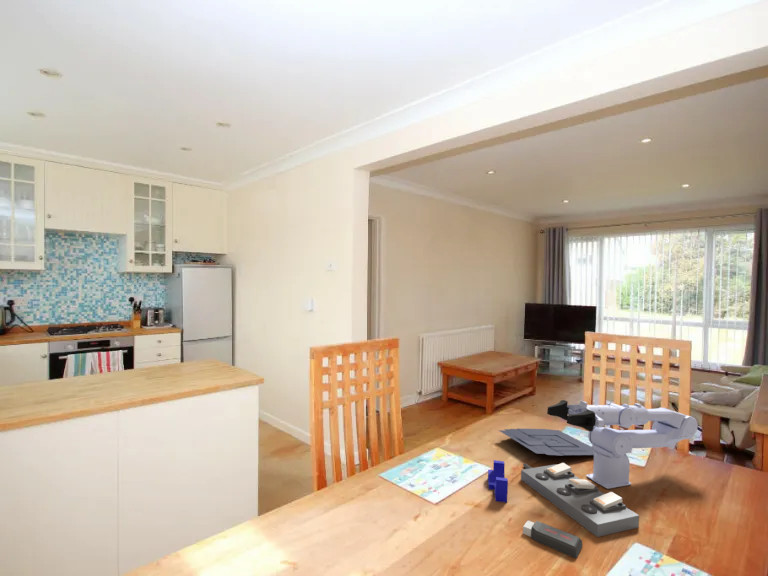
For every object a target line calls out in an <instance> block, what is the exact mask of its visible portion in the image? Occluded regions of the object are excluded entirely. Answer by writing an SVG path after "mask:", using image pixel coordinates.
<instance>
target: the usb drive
mask: <svg viewBox="0 0 768 576" xmlns="http://www.w3.org/2000/svg"><path fill="white" fill-rule="evenodd" d="M522 534H523V535H525V536H528V537H530V538H531V540H533V541H534V542H536V543H538V544H541V545H543V546H545V547H548V548H550V549H552V550H554V551H557V552H560V553H562V554H564V555H567V556H569V557H571V558H572V559H577V558H578V556H579V554H580V552H581V550H582V549H583V541H582V539H581V538H580V537H578V536H577V535H574V534H572V533H569V532H566V531H565V530H562V529H559V528H557V527H554V526H551V525H549V524H546V523H544V522H541V521H538V520H535V522H533V521H531V520H527V521H526V522H525V523H524V525H523V526H522Z"/></svg>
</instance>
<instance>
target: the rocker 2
mask: <svg viewBox="0 0 768 576" xmlns="http://www.w3.org/2000/svg"><path fill="white" fill-rule="evenodd" d="M593 500H594V503H595V504H597V505H598V506H600V507H601V508H603V509H607V508H609V507H611V506H614V505H616V504H618V503H623V497H621V496H620V495H618V494H616V492H615V493H614V492H613V491H609V492H607V493H604V495H602V496H599V497H597V498H594V499H593Z"/></svg>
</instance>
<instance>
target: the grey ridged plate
mask: <svg viewBox="0 0 768 576" xmlns="http://www.w3.org/2000/svg"><path fill="white" fill-rule="evenodd" d="M498 431H499V432H500V433H502V434H503V435H505V436H506V437H509V438H511V439H512V440H514V441H515V442H517V443H519V444H520V445H522V446H524V448H527V449H528V450H530V451H532V452H533V453H535V454H542V455H544V454H545V455H547V456H561V457H562V456H564V457H565V456H594V448H592V446H591V445H589V444H587V443H584V442H582V441H581V440H579V439H576V438H575V437H573V436H571V435H568V433H565V432H563V431H561V430H559V429H548V428H547V429H546V428H506V429H503V430H499V429H498Z"/></svg>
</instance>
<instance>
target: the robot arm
mask: <svg viewBox="0 0 768 576" xmlns="http://www.w3.org/2000/svg"><path fill="white" fill-rule="evenodd" d="M568 402H569V401H567V400H565V399H561V400H560V401H559V402H558V403H556V404H553V405H550V406H547V411H546V412H547V413H546V414H547V415H549V416H553V417H558V418H561V419H563V420H564V421H566V424H569V425H571V426H576V427H578V428H582V429H584V430H586V431H588V436H587V437H588V441H589V442H590V444H591V445H592V446H591V447H592V448H594V455H593V466H592V468H593V470H592V473H589V474H586V475H585V477H587V478H588V479H590V480H591V481H593V482H595V483H596V484H598V485H600V486H601V487H604V488H605V489H607V490H610V489H615V488H621V487H626V486H631V485H632V482H631V481H629V480H630V458H629V456H628V455H627V454H631V453H632V450H633V449H653V448H669V447H672V446H674V445H675V444H677V443H679V442H681V441H683V440H692V439H693V437H694V435H695V434H696V432H697V430H698V426H699V425H698V421H697V419H696V418H695V417H694V416H691V415H687V414H684V413H681V412H678V411H674V410H673V409H669V408H667V407H660V406H659V407H658V408H646V407H645V406H644V405H642V404H641V403H638V402H637V403H636V402H635V403H634V405H633V404H632V405H631V404H630V405H629V404H627V403H622V404H621V405H620V404H618V403H617V404H616V403H614V402H612V401H610V402H606V404H588V402H586V401H584V400H580V401H579V403H578V404H575V403H574V404H568ZM650 421H651V422H653V423H652V426H651V429H629V428H631V426H638V425H639V426H642V425H646V424H648V423H649V422H650ZM604 426H619V427H621V428H625V429H622V430H621V429H615V428H611V427H604Z"/></svg>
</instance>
